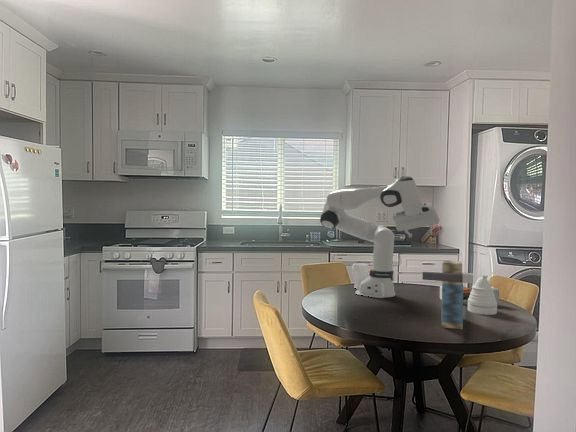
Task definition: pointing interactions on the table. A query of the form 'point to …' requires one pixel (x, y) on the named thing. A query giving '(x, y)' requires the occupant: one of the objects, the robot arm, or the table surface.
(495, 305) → the honey pot
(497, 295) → the medicine box
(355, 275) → the cup
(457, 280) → the dark gray bar
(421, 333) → the table surface
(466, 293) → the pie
